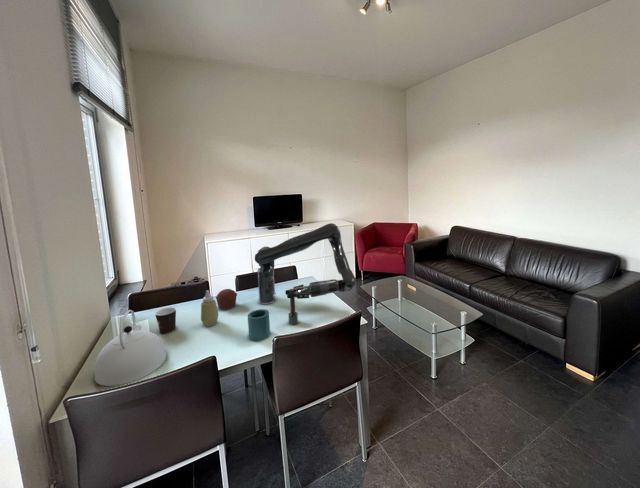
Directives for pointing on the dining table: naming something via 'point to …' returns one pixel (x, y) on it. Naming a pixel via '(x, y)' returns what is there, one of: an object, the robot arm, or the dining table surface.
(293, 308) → the dowel
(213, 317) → the squeeze bottle
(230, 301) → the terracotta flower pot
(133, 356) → the kettle
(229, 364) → the dining table surface
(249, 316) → the jar
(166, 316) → the coffee mug
